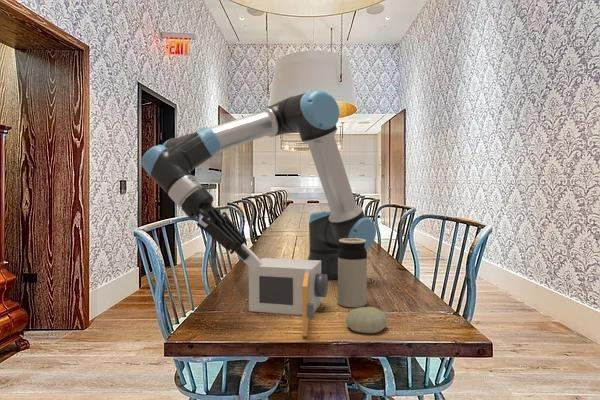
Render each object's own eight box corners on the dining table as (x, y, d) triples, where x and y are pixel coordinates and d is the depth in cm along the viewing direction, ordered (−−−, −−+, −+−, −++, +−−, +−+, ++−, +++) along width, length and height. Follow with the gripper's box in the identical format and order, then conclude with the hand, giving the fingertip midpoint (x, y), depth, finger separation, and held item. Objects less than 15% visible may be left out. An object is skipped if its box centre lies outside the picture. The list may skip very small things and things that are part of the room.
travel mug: (359, 310, 116) (359, 242, 115) (332, 305, 120) (332, 240, 119) (371, 302, 123) (371, 239, 122) (345, 298, 127) (345, 237, 126)
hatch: (305, 316, 109) (305, 272, 109) (314, 316, 109) (314, 272, 109) (302, 336, 95) (302, 286, 95) (313, 336, 95) (313, 286, 95)
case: (329, 303, 122) (329, 260, 121) (320, 318, 109) (320, 270, 109) (263, 298, 127) (263, 257, 126) (247, 312, 114) (246, 267, 113)
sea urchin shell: (339, 315, 106) (362, 291, 106) (362, 337, 107) (384, 313, 107) (346, 328, 97) (372, 302, 97) (371, 351, 98) (396, 326, 98)
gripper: (188, 187, 100) (259, 262, 97) (213, 185, 112) (276, 251, 109) (168, 210, 101) (237, 284, 98) (195, 206, 114) (257, 271, 111)
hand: (258, 267), depth 104 cm, fingers closed
